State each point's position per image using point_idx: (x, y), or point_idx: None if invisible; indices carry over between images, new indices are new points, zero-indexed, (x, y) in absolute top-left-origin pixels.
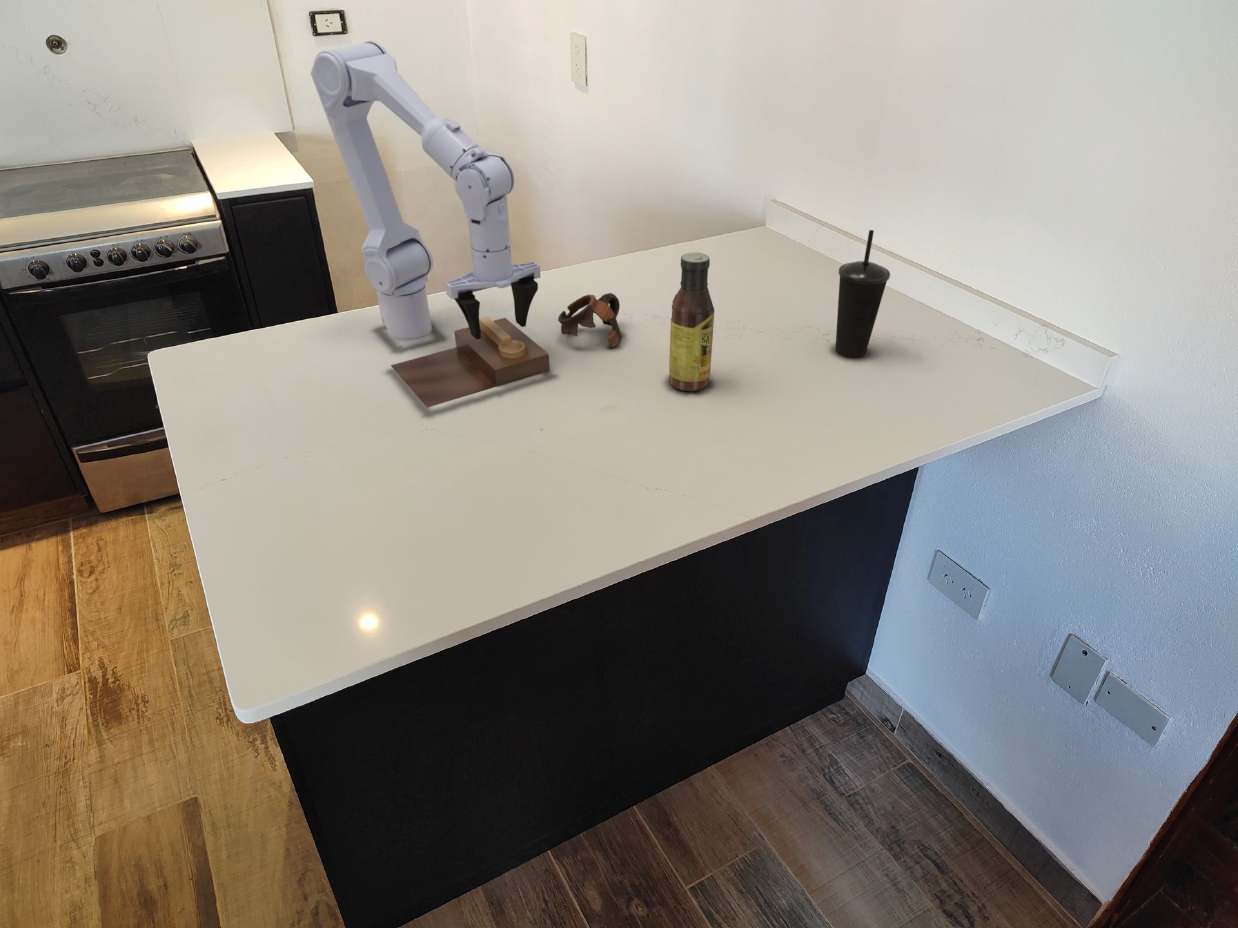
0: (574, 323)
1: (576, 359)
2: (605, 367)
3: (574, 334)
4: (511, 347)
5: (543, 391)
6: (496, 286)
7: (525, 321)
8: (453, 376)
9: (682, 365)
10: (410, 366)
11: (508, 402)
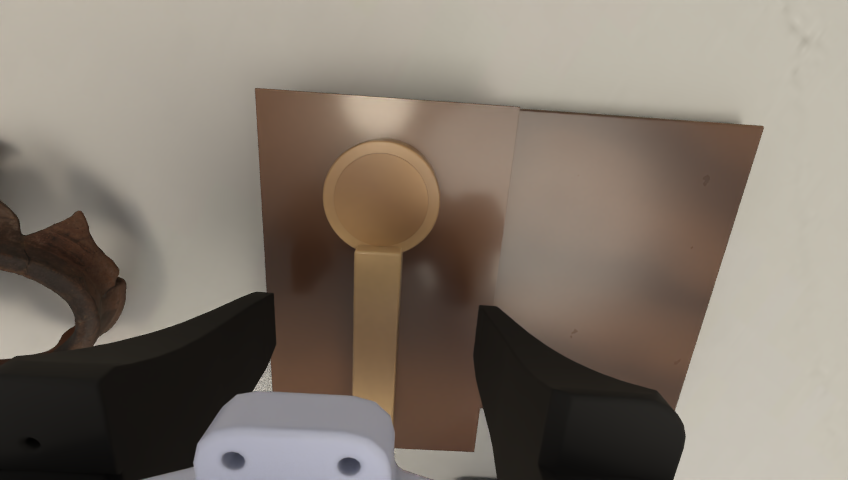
0: (39, 247)
1: (152, 150)
2: (75, 28)
3: (82, 220)
4: (389, 189)
5: (360, 16)
6: (394, 460)
7: (246, 296)
8: (576, 257)
9: None
10: (637, 382)
11: (500, 27)
